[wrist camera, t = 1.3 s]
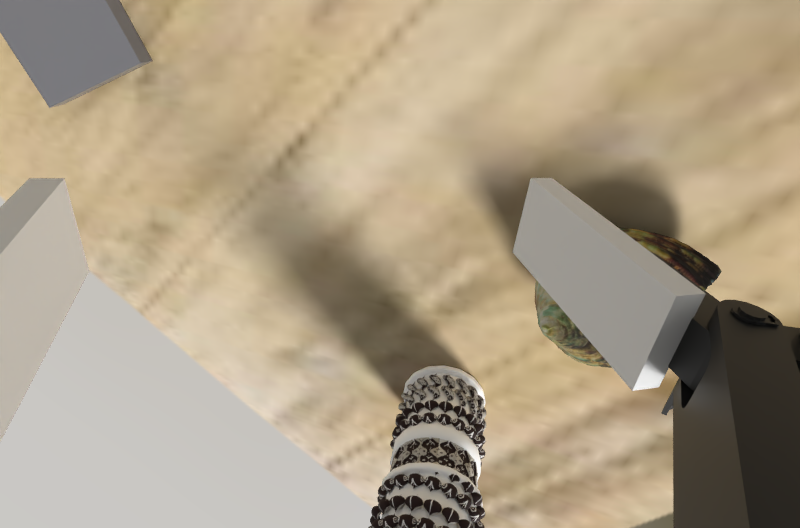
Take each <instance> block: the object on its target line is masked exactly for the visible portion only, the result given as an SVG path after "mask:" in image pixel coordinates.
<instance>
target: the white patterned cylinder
mask: <svg viewBox="0 0 800 528" xmlns="http://www.w3.org/2000/svg"><path fill="white" fill-rule="evenodd" d="M401 397H402V398H403V399H404V402H405V403H400V404H399V409H400V410H402V414H398V415H397V417H396V425H397V427H395V429H394V431H393V433H392V436H393V438H394V439H393V440H392V441H391V444H390V445H391V447H392V449H393V452H392V457H391V461H390V464H391V470H390V473H389V474H388V475H387V476H386V477H385V478H384V479H383V481H382V486H380V487H379V490H378V494H379V496H378V502H379V504H378V506H374V507H373V508H372V517H371V519H370V522H371V524H372V526H370V527H369V528H484V525H483V524H482V523H481V521H480V519H482V518H483V517H484V516H485V510H484V509H483V503H482V496H481V495H480V491H479V490H478V482H477V481H478V478H479V476H480V467H481V464H482V462H481V460H480V459H482V458H484V456H485V451H484V450H483V449H482V446H483V444H484V443H485V437H484V436H483V431H484V430H485V428H486V422H485V420H484V418H485V416H486V410H485V408H484V406H485V397H484V392H483V388H482V387H481V386H480V384H479V383H478V382H477V381H476V379H475V378H474V377H473V376H471V375H469V374H468V373H466V372H464V371H463V370H461V369H458V368H454V367H450V366H445V365H439V366H427V367H425V368H423V369H421V370H418V371H416V372H414V373H413V374H412V375H411V377H410V378H409V379H408V380H407V381H406V383H405V387H404V392H403V393H402V394H401ZM381 512H382V513H383V514H382V518H381V519H380V516H379V515H380V513H381Z"/></svg>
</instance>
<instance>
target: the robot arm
mask: <svg viewBox="0 0 800 528" xmlns="http://www.w3.org/2000/svg"><path fill="white" fill-rule="evenodd" d="M513 253H514V255H515V256H516V257H517V258H518V259H519V260H520V261H521V263H522V264H523V265H524V266H525V267H526V268H527V270H528V271H529V272H530V273H531V274H532V275H533V277H534V278H535V279H536V280H537V281H538V282H539V283H540V285H541V286H542V287H543V288H544V289H545V290H546V292H547V293H548V294H549V295H550V296H551V297H552V298H553V300H554V301H555V302H556V303H557V304H558V305H559V307H560V308H561V309H562V310H563V311H564V312H565V313H566V315H567V316H568V317H569V318H570V319H571V320H572V322H573V323H574V324H575V325H576V326H577V327H578V329H579V330H580V331H581V332H582V333H583V334H584V335H585V337H586V338H587V339H588V340H589V341H590V342H591V344H592V345H593V346H594V347H595V348H596V349H597V350H598V352H599V353H600V354H601V355H602V356H603V357H604V359H605V360H606V361H607V362H608V363H609V364H610V366H611V367H612V368H613V369H614V370H615V371H616V372H617V374H618V375H619V376H620V377H621V378H622V379H623V381H624V382H625V383H626V384H627V385H628V386H629V387H630V389H631V390H632V391H634V390H641V389H649V388H657V387H659V386H660V384H661V382H662V380H663V378H664V376H665V374H666V372H667V370H668V368H670V369H671V370H672V371H673V372H674V373H675V374H676V375H677V376H678V377H679V379H678V381H677V383H676V385H675V387H674V389H673V391H672V393H671V395H670V396H669V398H668V400H667V402H666V404H665V406H664V408H663V410H662V414H664V415H667V413H668V411H669V410H670V409H673V487H674V528H800V328H794V327H787V326H783V325H782V323H781V322H780V320H779V319H777V318H776V317H775V316H774V315H772V314H771V313H769V312H767V311H766V310H764V309H762V308H760V307H758V306H755V305H752V304H749V303H747V302H742V301H737V300H723V301H721V302H719V301H718V300H717V299H715V298H714V297H713V296H711V295H710V294H709V293H707V292H706V291H705V290H703V289H702V288H701V287H699V286H698V285H697V284H695V283H694V282H693V281H691V280H690V279H689V278H687V277H686V276H682V273H681V272H679V271H678V270H677V269H675V268H674V267H671V266H670V264H669V263H667V262H666V261H665V260H663V259H662V258H661V257H659V256H658V255H657V254H654V253H652V252H650V251H648V250H647V249H646V248H644V247H643V246H642V245H640V244H639V243H638V242H636V241H635V240H634V239H632V238H631V237H630V236H628V235H627V234H626V233H624V232H623V231H622V230H620V229H619V228H618V227H617V226H615V225H614V224H613V223H611V222H610V221H609V220H607V219H606V218H605V217H603V216H602V215H601V214H599V213H598V212H597V211H595V210H594V209H593V208H591V207H590V206H589V205H587V204H586V203H585V202H583V201H582V200H581V199H579V198H578V197H577V196H575V195H574V194H573V193H571V192H570V191H569V190H567V189H566V188H565V187H563V186H562V185H561V184H559V183H558V182H557V181H555V180H554V179H553V178H531V179H530V183H529V187H528V191H527V196H526V200H525V204H524V208H523V212H522V216H521V220H520V224H519V228H518V232H517V236H516V240H515V245H514V249H513ZM88 273H89V268H88V264H87V260H86V257H85V253H84V249H83V245H82V242H81V238H80V234H79V231H78V227H77V223H76V219H75V216H74V212H73V208H72V205H71V201H70V197H69V193H68V190H67V186H66V182H65V178H29V179H28V180H27V181H26V182H25V183H24V184H23V185H22V186H21V187H20V188H19V189H18V190H17V191H16V192H15V193H14V194H13V195H12V196H11V197H10V198H9V199H8V200H7V201H6V202H5V203H4V204H3V205H2V206H1V207H0V442H1V440H2V438H3V436H4V434H5V432H6V430H7V428H8V426H9V424H10V422H11V420H12V419H13V417H14V414H15V413H16V411H17V409H18V407H19V405H20V403H21V401H22V399H23V397H24V395H25V394H26V392H27V390H28V388H29V386H30V384H31V382H32V380H33V378H34V376H35V374H36V372H37V371H38V369H39V367H40V365H41V363H42V361H43V359H44V357H45V355H46V353H47V351H48V349H49V347H50V346H51V343H52V342H53V340H54V338H55V336H56V334H57V332H58V330H59V328H60V326H61V324H62V322H63V321H64V318H65V317H66V315H67V313H68V311H69V309H70V307H71V305H72V303H73V301H74V299H75V298H76V296H77V294H78V292H79V290H80V288H81V286H82V284H83V282H84V280H85V278H86V276H87V274H88Z"/></svg>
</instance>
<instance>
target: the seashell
mask: <svg viewBox="0 0 800 528" xmlns="http://www.w3.org/2000/svg"><path fill="white" fill-rule="evenodd" d="M619 229H620V230H622V231H623V232H624V233H626V234H627V235H628V236H630V237H631V238H632V239H634V240H635V241H636V242H638V243H639V244H640V245H642V246H643V247H644V248H646V249H647V250H648V251H650V252H652V253H654V254H657V255H658V256H659V257H661V258H662V259H663V260H665V261H666V262H667V263H669V264H670V266H671V267H674V268H675V269H677V270H678V271H679V272H681V273H682V276H686V277H687V278H689V279H690V280H691V281H693V282H694V283H695V284H697V285H698V286H699V287H701V288H702V289H703V290H706V289H707V287H708V286H710V285H712V283H713V282H714V281H715V280H716V279H717V278H718V276H719V275H720V273H721V270H720V268H719V267H718V265H716V264H715V263H713V262H712V261H710V260H709V259H708V258H707V257H705V256H703V255H702V254H701V253H699V252H697V251H696V250H694V249H693V248H691V247H690V246H688V245H686V244H684V243H682V242H680V241H678V240H676V239H674V238H670V237H667V236H663V235H660V234H656V233H650V232H646V231H642V230H638V229H623V228H619ZM535 305H536V310H537V316H538V324H539V327H540V329H541V331H542V333H543V334H544V335H545V336H546V337H548V338H549V339H550V340H551V341H553V342H554V343H555V344H556V345H557V346H558V348H560V349H561V350H562V351H563V352H564V353H565V354H567V355H568V356H570V357H571V358H573V359H574V360H576V361H578V362H581V363H584V364H587V365H591V366H601V367H611V366H610V364H609V363H608V362H607V361H606V360H605V359H604V357H603V356H602V355H601V354H600V353H599V352H598V350H597V349H596V348H595V347H594V346H593V345H592V344H591V342H590V341H589V340H588V339H587V338H586V337H585V335H584V334H583V333H582V332H581V331H580V330H579V329H578V327H577V326H576V325H575V324H574V323H573V322H572V320H571V319H570V318H569V317H568V316H567V315H566V313H565V312H564V311H563V310H562V309H561V308H560V307H559V305H558V304H557V303H556V302H555V301H554V300H553V298H552V297H551V296H550V295H549V294H548V293H547V292H546V290H545V289H544V288H543V287H542V286H541V285H540V283H539V282H538V281H537V280H536V286H535Z"/></svg>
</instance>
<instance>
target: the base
mask: <svg viewBox="0 0 800 528" xmlns="http://www.w3.org/2000/svg"><path fill="white" fill-rule="evenodd" d="M0 33H1V34H2V36H3V37H4V39H5V40H6V42H7V43H8V45H9V46H10V48H11V49H12V51H13V52H14V54H15V56H16V57H17V59H18V60H19V62H20V63H21V65H22V66H23V68H24V69H25V71H26V72H27V74H28V75H29V77H30V78H31V80H32V82H33V83H34V85H35V86H36V88H37V89H38V91H39V92H40V94H41V95H42V97H43V98H44V100H45V101H46V103H47V104H48V106H49V108H51V107H55V106H59V105H63V104H65V103H67V102H69V101H71V100H74V99H76V98H78V97H80V96H82V95H84V94H86V93H88V92H90V91H92V90H94V89H96V88H98V87H100V86H102V85H104V84H106V83H108V82H110V81H112V80H114V79H116V78H119V77H121V76H123V75H125V74H127V73H129V72H131V71H133V70H135V69H137V68H139V67H141V66H143V65H145V64H147V63H149V62H151V61H152V59H151V57H150V55H149V54H148V52H147V50H146V48H145V46H144V45H143V43H142V41H141V39H140V37H139V35H138V34H137V32H136V30H135V28H134V26H133V24H132V23H131V21H130V19H129V17H128V15H127V14H126V12H125V10H124V8H123V6H122V4H121V3H120V1H119V0H0Z"/></svg>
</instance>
